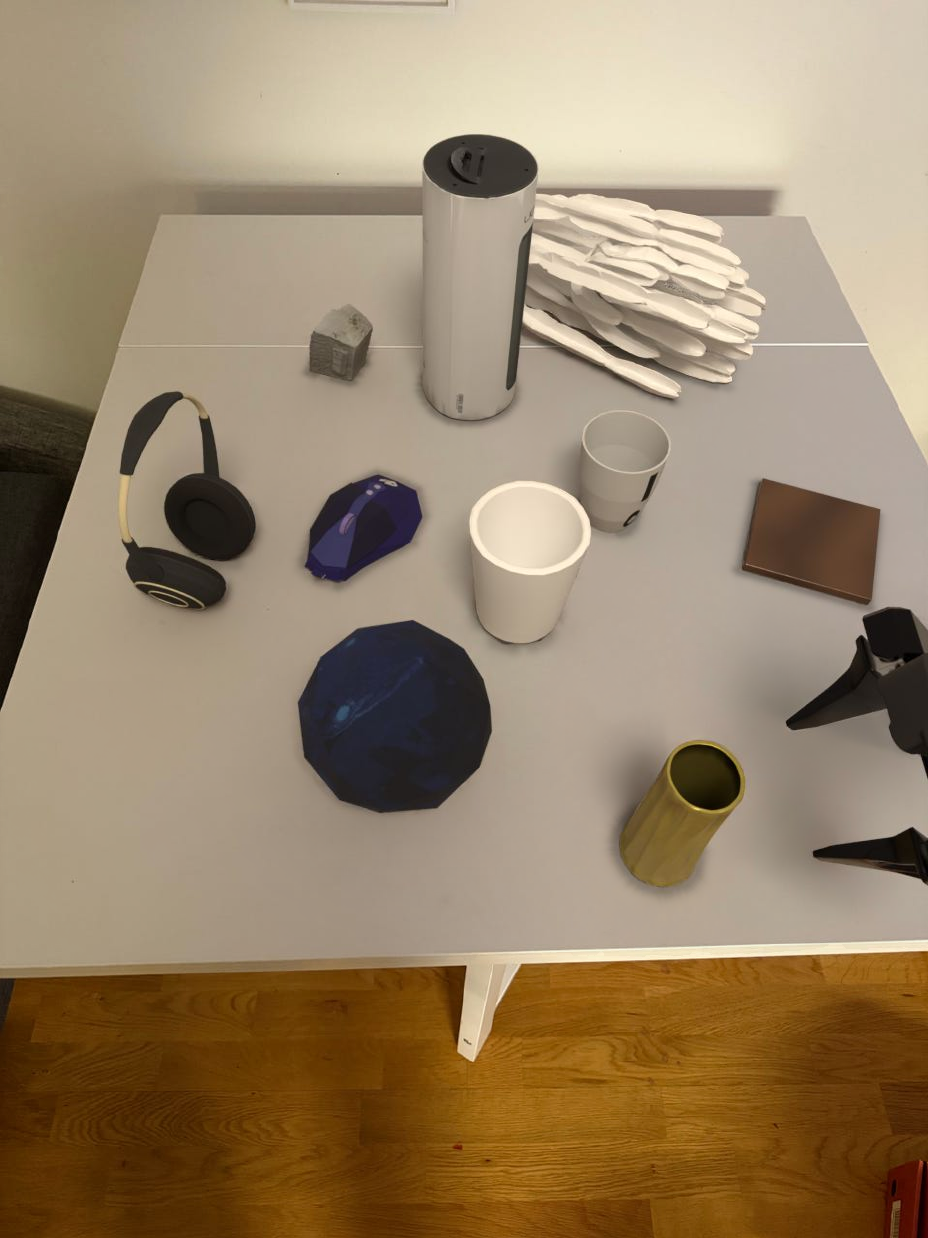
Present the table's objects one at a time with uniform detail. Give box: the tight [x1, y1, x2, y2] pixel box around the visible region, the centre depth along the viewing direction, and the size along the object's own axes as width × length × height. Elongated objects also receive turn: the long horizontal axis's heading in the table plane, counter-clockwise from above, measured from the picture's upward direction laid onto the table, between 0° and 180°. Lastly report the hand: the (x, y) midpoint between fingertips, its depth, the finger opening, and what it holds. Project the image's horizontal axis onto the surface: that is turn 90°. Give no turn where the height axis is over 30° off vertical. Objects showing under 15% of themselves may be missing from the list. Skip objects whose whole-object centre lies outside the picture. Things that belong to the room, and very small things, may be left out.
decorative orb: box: [297, 619, 493, 814], centre depth 66 cm, size 14×15×15 cm
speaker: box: [421, 133, 540, 422], centre depth 86 cm, size 11×10×26 cm
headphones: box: [117, 390, 257, 611], centre depth 73 cm, size 9×15×20 cm, turn 165°
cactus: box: [522, 193, 767, 399], centre depth 96 cm, size 17×18×35 cm
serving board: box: [741, 477, 881, 606], centre depth 86 cm, size 12×12×1 cm
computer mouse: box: [304, 474, 423, 583], centre depth 83 cm, size 9×15×4 cm, turn 152°
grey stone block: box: [308, 303, 374, 382], centre depth 94 cm, size 7×9×8 cm
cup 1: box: [468, 480, 592, 645], centre depth 75 cm, size 10×10×13 cm
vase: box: [619, 739, 747, 888], centre depth 62 cm, size 6×6×14 cm
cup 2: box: [578, 409, 672, 533], centre depth 83 cm, size 8×8×10 cm
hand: (801, 788), depth 58 cm, fingers open, 9 cm apart
